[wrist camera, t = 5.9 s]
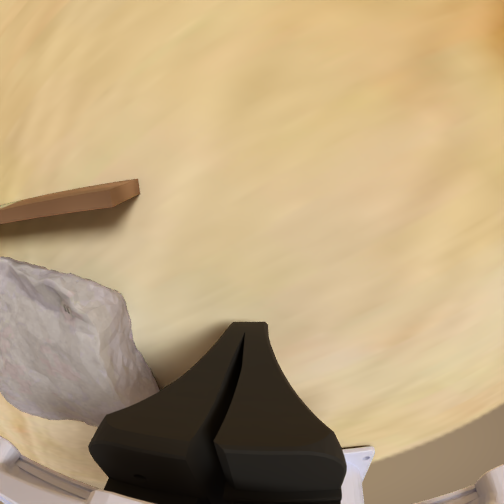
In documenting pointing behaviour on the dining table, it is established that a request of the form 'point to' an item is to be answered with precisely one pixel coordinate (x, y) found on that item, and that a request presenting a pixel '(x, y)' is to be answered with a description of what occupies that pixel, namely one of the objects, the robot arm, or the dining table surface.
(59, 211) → the guide slot
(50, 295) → the stone block
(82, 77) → the dining table surface
